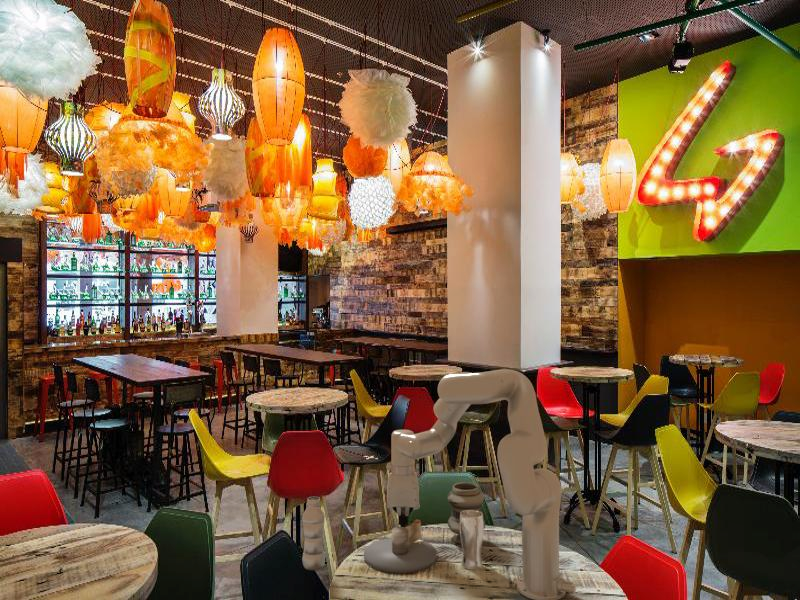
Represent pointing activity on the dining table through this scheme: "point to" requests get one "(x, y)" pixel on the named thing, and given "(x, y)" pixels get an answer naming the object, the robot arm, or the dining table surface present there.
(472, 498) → the apothecary jar
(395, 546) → the tan knob handle
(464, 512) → the beer glass
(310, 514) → the plastic bottle
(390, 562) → the dial base
